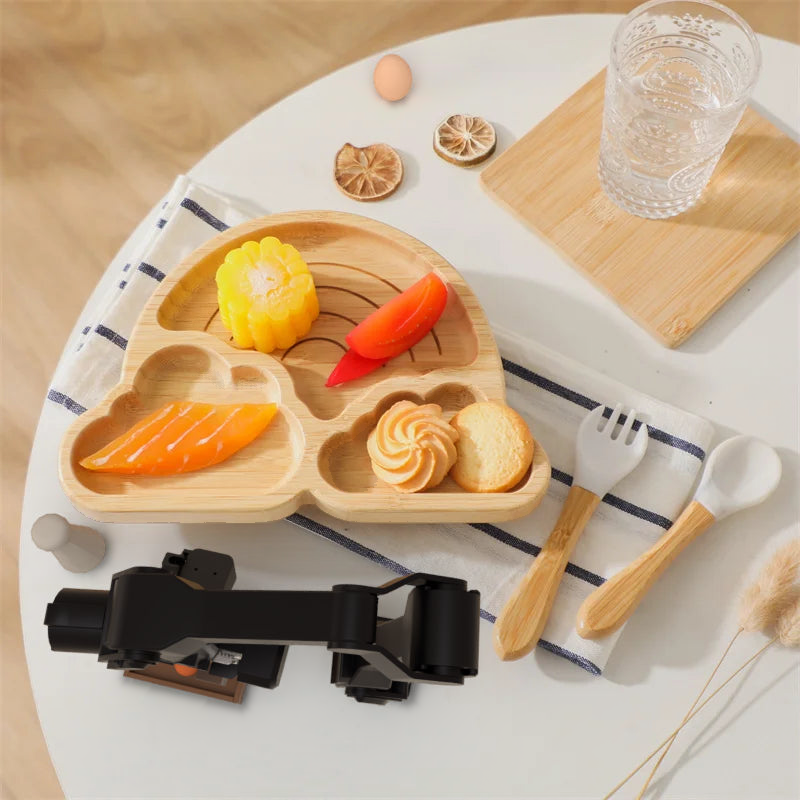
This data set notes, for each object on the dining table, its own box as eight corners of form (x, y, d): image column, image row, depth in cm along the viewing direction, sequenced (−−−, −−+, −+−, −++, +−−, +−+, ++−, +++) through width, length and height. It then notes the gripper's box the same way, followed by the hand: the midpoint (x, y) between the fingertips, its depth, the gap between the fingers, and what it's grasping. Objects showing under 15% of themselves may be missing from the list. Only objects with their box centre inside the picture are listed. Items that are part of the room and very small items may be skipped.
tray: (264, 618, 111) (261, 616, 109) (241, 704, 107) (237, 703, 105) (154, 593, 112) (149, 590, 111) (128, 677, 109) (122, 675, 107)
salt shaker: (102, 581, 113) (61, 560, 101) (59, 572, 114) (13, 550, 102) (116, 535, 115) (78, 510, 103) (74, 527, 116) (31, 500, 104)
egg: (403, 74, 140) (401, 38, 133) (418, 101, 138) (417, 66, 131) (369, 87, 139) (365, 51, 132) (384, 115, 137) (381, 80, 130)
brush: (243, 622, 104) (229, 613, 97) (225, 686, 102) (209, 681, 95) (218, 616, 105) (203, 606, 98) (200, 680, 102) (182, 674, 95)
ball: (206, 654, 109) (200, 651, 106) (198, 679, 108) (192, 677, 105) (182, 648, 109) (175, 645, 107) (175, 673, 108) (168, 671, 106)
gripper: (294, 567, 87) (315, 593, 102) (112, 526, 89) (158, 558, 104) (262, 685, 83) (289, 695, 98) (72, 640, 86) (126, 656, 100)
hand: (215, 647), depth 100 cm, fingers closed on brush, 2 cm apart
